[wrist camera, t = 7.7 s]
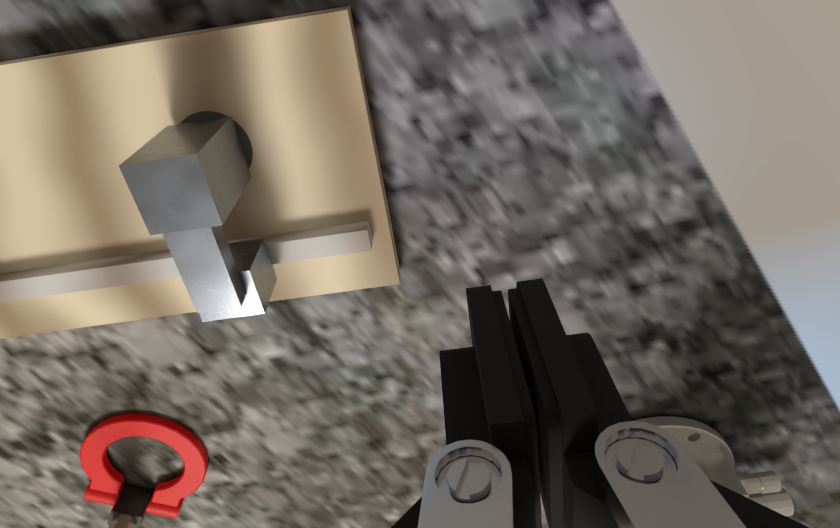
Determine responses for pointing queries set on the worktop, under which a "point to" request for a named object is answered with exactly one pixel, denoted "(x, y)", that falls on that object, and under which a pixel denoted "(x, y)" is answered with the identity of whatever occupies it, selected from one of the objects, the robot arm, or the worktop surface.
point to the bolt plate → (177, 104)
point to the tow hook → (109, 481)
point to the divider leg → (202, 215)
